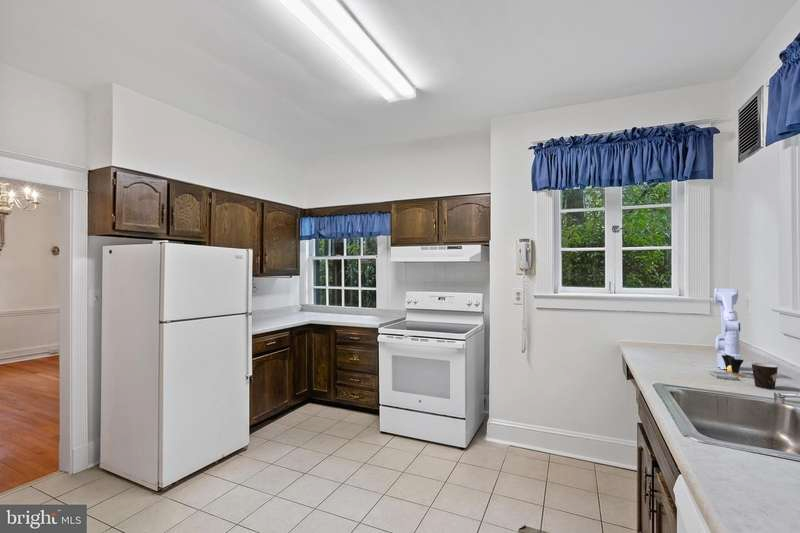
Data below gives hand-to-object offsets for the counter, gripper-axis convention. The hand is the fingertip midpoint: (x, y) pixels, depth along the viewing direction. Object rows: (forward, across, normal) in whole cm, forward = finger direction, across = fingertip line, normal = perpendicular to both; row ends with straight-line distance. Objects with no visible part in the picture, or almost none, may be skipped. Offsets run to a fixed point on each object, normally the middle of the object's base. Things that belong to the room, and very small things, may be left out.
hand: (732, 371), depth 194 cm
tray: (+2, +8, -6) cm, 10 cm away
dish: (+2, 0, 0) cm, 2 cm away
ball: (-1, 0, 0) cm, 1 cm away
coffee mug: (+2, +23, +3) cm, 23 cm away
